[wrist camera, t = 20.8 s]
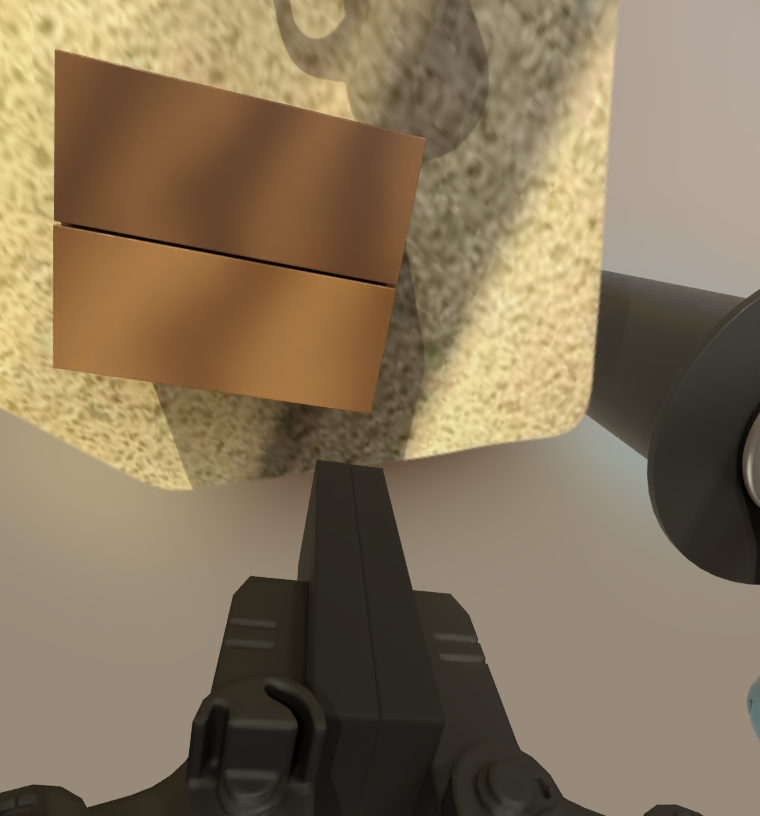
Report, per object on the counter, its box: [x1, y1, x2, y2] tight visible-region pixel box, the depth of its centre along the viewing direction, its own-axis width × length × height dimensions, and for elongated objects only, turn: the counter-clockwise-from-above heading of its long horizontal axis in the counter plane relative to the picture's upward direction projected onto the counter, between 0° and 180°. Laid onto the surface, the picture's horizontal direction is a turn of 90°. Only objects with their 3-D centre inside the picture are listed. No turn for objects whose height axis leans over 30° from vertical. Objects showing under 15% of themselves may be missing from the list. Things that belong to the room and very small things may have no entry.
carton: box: [54, 49, 426, 288], centre depth 29 cm, size 15×13×11 cm
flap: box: [53, 224, 396, 414], centre depth 25 cm, size 15×6×1 cm, turn 78°
